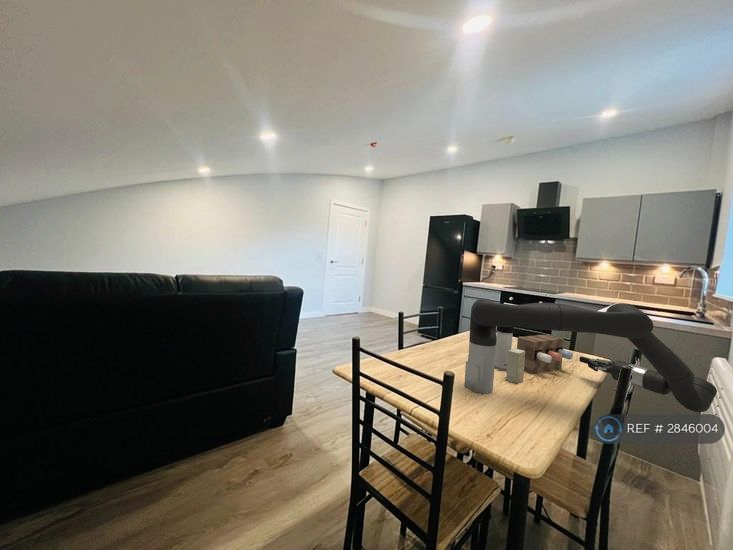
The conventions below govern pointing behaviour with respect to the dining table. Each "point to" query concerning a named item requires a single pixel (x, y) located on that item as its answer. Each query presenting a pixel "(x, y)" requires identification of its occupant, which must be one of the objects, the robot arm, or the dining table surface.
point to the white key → (544, 357)
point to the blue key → (565, 354)
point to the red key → (555, 355)
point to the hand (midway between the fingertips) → (580, 358)
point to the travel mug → (503, 346)
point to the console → (540, 345)
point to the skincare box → (515, 365)
